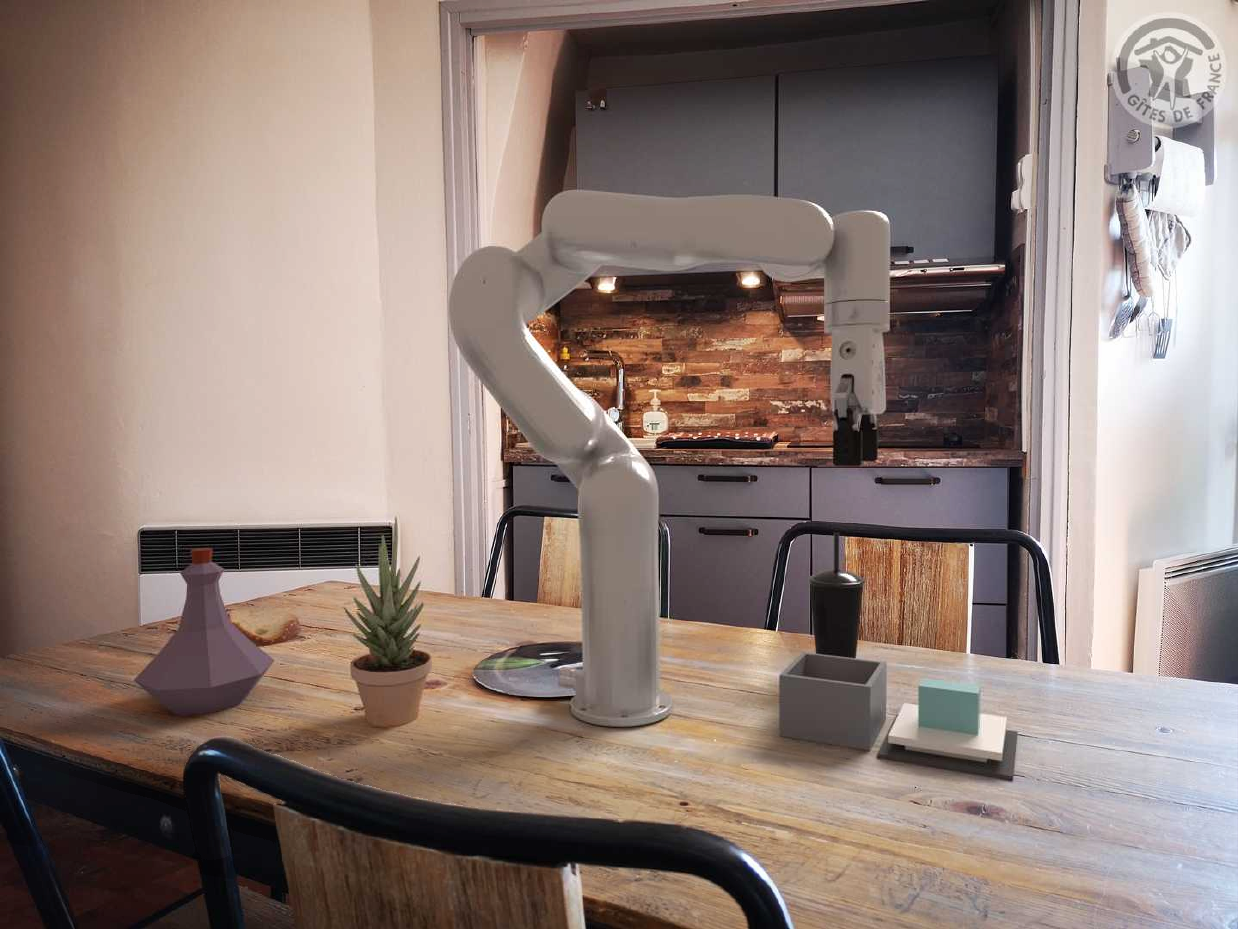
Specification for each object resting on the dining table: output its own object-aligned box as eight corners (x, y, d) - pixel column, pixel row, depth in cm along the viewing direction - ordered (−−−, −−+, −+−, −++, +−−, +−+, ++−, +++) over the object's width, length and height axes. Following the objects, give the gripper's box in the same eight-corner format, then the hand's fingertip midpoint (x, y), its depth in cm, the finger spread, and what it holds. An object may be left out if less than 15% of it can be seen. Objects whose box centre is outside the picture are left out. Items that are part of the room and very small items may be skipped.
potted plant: (403, 737, 97) (397, 523, 95) (335, 727, 100) (328, 520, 99) (450, 708, 106) (445, 512, 105) (386, 700, 109) (380, 510, 108)
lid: (888, 752, 90) (888, 693, 89) (904, 718, 99) (904, 665, 99) (1001, 770, 85) (1002, 709, 84) (1006, 733, 94) (1007, 677, 94)
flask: (302, 687, 115) (297, 541, 114) (214, 731, 99) (207, 562, 98) (202, 678, 120) (196, 538, 118) (103, 719, 104) (95, 558, 103)
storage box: (779, 735, 96) (779, 675, 95) (802, 708, 104) (802, 652, 104) (870, 750, 91) (870, 687, 91) (886, 720, 100) (886, 662, 100)
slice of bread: (241, 619, 156) (240, 599, 156) (331, 622, 153) (330, 601, 153) (173, 645, 138) (172, 623, 138) (273, 649, 135) (272, 626, 135)
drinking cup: (867, 687, 112) (868, 537, 111) (808, 684, 114) (808, 536, 112) (862, 669, 119) (863, 529, 118) (807, 667, 121) (807, 528, 120)
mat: (877, 757, 89) (877, 753, 89) (896, 717, 101) (896, 714, 101) (1012, 780, 83) (1012, 776, 83) (1017, 734, 95) (1017, 731, 95)
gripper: (875, 310, 91) (874, 468, 92) (900, 324, 107) (899, 459, 108) (806, 314, 95) (806, 467, 96) (840, 327, 110) (840, 458, 111)
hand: (856, 463), depth 102 cm, fingers open, 9 cm apart
